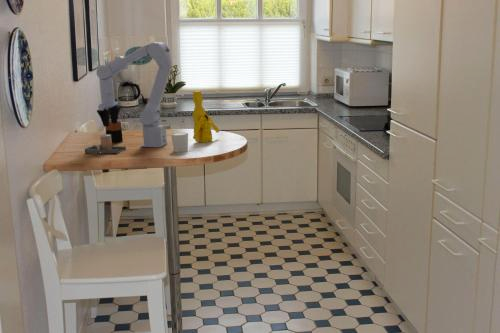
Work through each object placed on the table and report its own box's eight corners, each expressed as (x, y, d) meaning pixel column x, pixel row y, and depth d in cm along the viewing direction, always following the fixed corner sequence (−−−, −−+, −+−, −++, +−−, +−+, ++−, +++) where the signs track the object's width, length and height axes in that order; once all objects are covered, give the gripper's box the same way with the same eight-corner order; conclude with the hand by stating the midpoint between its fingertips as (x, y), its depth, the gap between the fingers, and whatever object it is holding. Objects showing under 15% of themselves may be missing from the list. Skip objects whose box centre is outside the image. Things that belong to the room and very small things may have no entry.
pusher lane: (126, 150, 265) (125, 145, 265) (117, 153, 258) (117, 149, 257) (94, 149, 269) (93, 145, 269) (85, 153, 262) (84, 148, 261)
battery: (115, 143, 282) (113, 121, 280) (106, 142, 287) (104, 120, 285) (123, 141, 285) (121, 119, 283) (114, 140, 290) (112, 118, 288)
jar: (114, 150, 265) (112, 134, 263) (108, 153, 261) (107, 136, 259) (105, 150, 266) (103, 134, 265) (99, 152, 262) (98, 136, 260)
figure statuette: (197, 145, 267) (194, 93, 263) (183, 144, 272) (180, 93, 267) (223, 138, 281) (220, 89, 277) (209, 137, 286) (206, 88, 281)
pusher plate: (105, 150, 266) (104, 143, 266) (99, 152, 261) (98, 145, 261) (104, 150, 267) (103, 143, 266) (97, 152, 261) (97, 145, 261)
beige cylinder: (182, 152, 254) (181, 135, 253) (169, 151, 258) (167, 134, 256) (192, 149, 260) (191, 132, 258) (179, 148, 263) (178, 131, 262)
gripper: (107, 91, 278) (110, 122, 281) (90, 95, 265) (93, 127, 268) (121, 91, 277) (124, 122, 279) (105, 95, 263) (108, 127, 266)
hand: (110, 124), depth 273 cm, fingers open, 7 cm apart
